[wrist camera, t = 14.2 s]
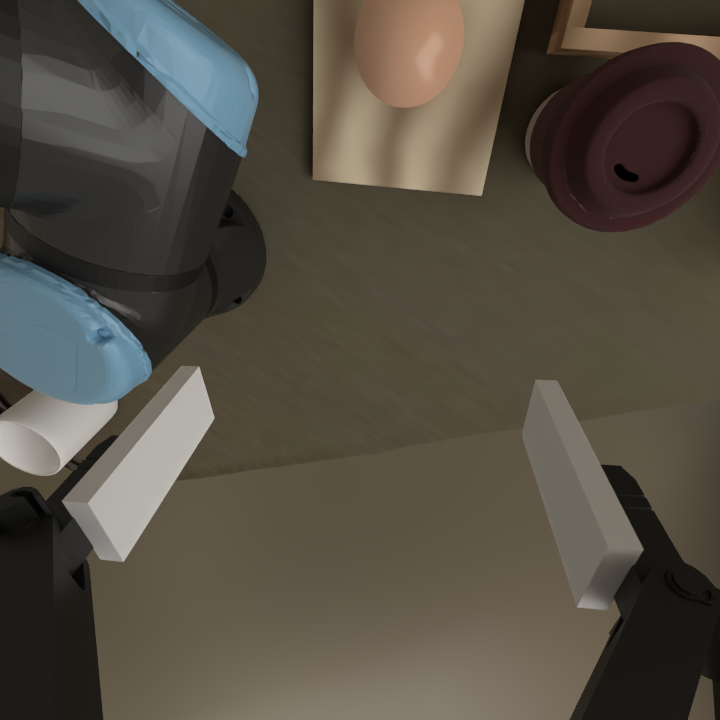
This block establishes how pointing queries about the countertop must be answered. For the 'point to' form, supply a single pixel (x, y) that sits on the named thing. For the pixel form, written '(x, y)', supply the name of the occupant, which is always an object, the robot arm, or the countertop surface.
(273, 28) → the countertop surface
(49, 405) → the mug
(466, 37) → the board
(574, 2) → the cold frame
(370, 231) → the countertop surface
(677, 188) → the coffee cup
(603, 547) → the robot arm
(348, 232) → the countertop surface
